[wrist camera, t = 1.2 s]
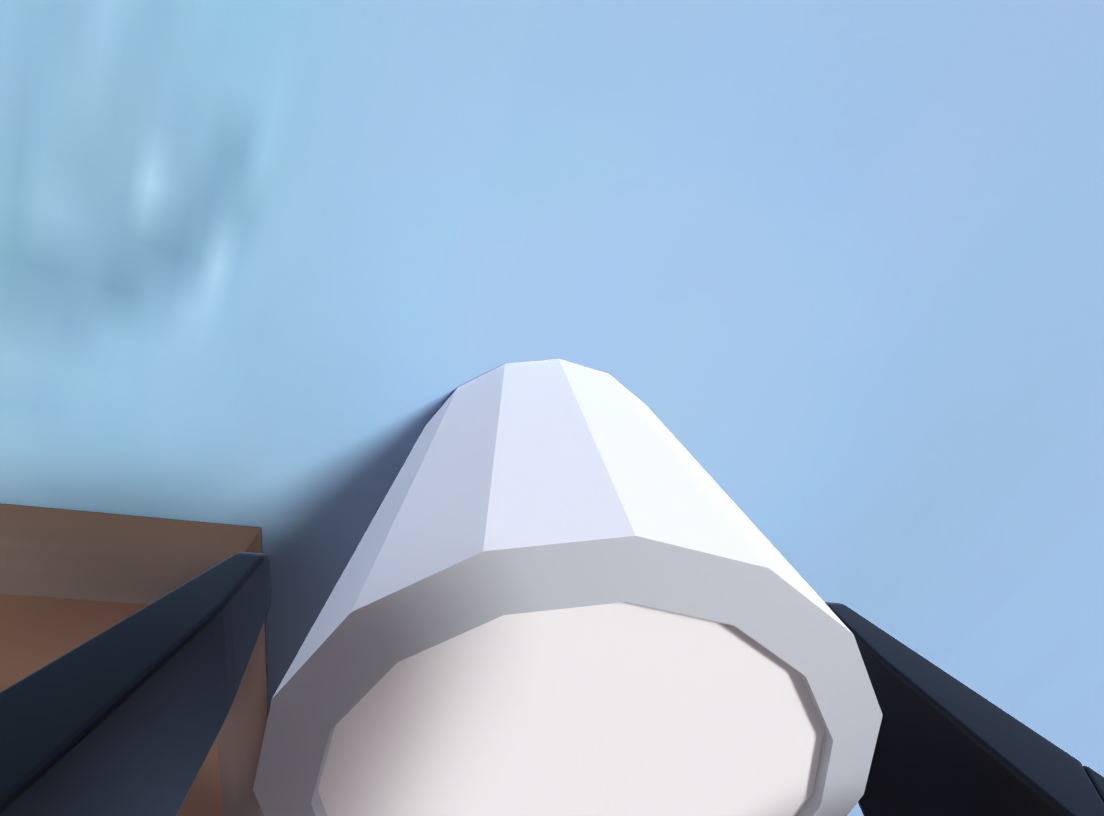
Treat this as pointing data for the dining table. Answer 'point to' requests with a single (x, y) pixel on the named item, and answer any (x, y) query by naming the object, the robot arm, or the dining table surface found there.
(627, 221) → the dining table surface
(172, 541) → the walnut plinth
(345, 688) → the white cup
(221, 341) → the dining table surface
